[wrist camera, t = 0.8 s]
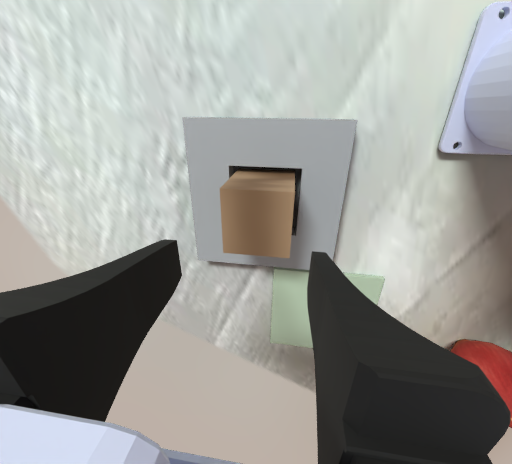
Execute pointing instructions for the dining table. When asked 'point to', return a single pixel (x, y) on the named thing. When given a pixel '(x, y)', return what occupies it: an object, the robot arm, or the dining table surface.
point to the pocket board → (270, 155)
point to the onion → (490, 365)
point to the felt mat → (305, 304)
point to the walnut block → (258, 212)
